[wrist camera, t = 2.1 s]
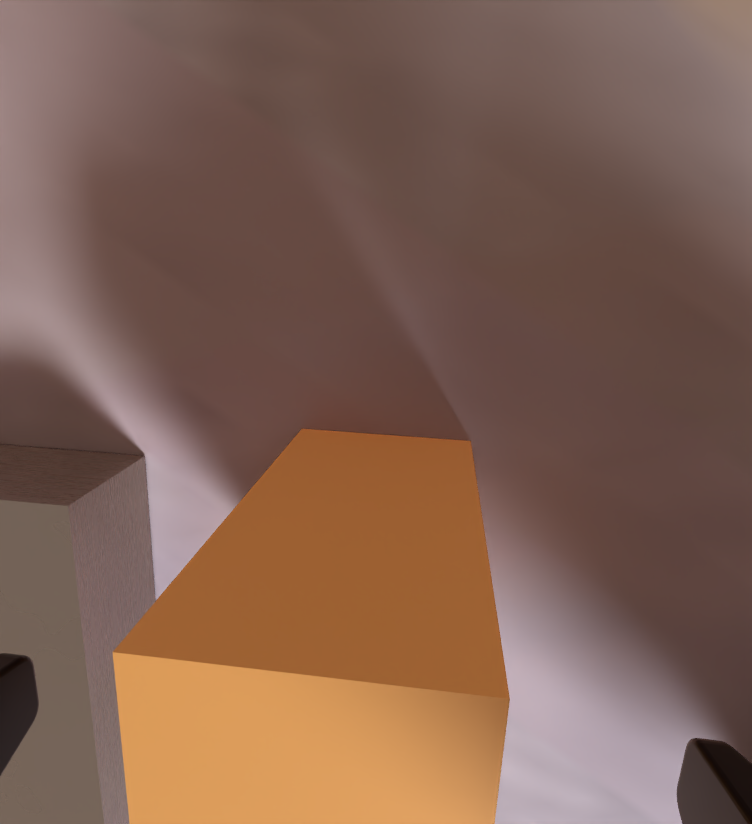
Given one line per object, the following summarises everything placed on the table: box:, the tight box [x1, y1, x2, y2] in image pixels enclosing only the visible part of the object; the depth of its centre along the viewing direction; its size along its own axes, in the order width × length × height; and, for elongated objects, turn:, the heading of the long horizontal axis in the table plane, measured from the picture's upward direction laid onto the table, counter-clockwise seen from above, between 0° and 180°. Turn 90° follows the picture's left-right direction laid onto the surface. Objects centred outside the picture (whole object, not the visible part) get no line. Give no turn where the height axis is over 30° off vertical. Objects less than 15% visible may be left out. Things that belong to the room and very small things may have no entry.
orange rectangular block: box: [113, 429, 510, 824], centre depth 10 cm, size 4×4×8 cm
